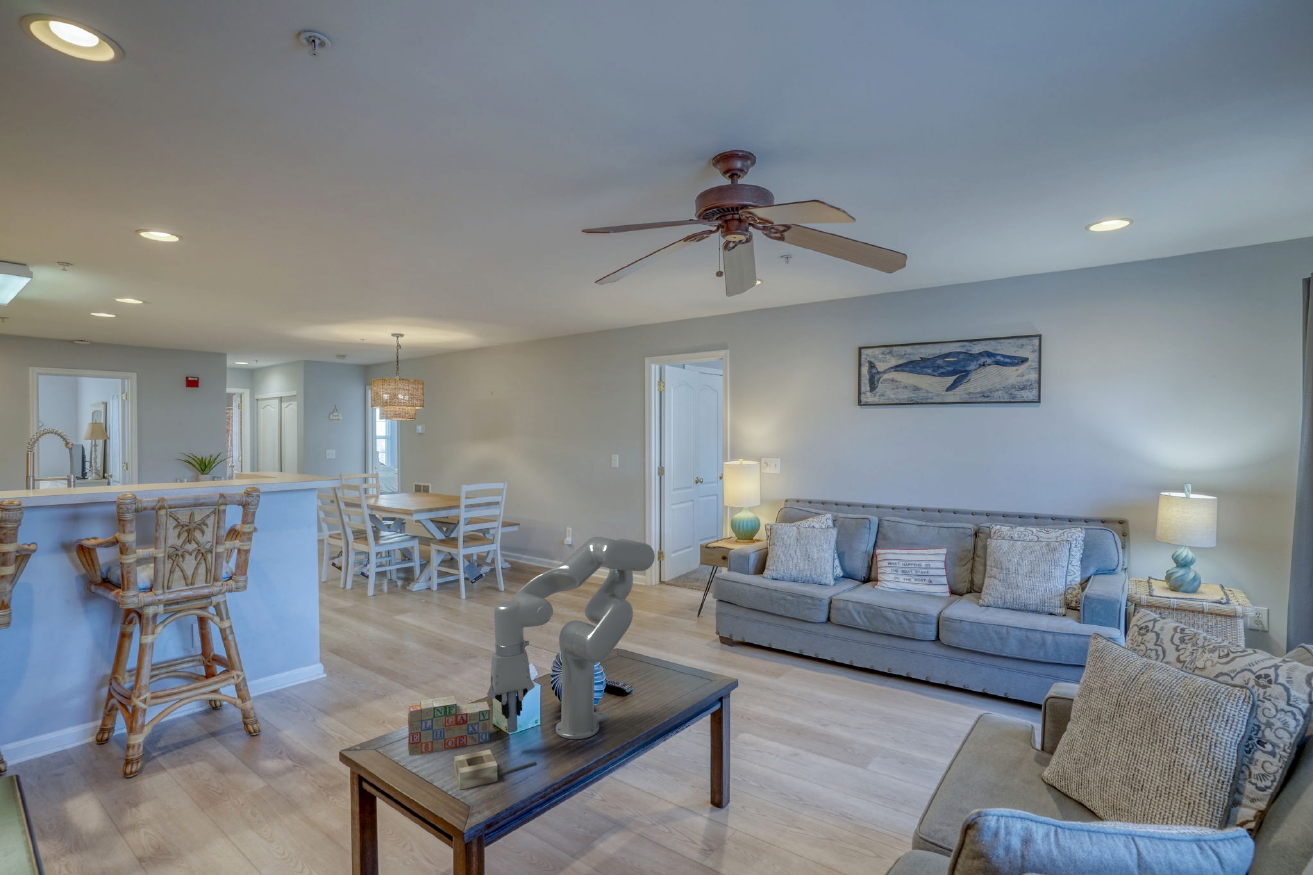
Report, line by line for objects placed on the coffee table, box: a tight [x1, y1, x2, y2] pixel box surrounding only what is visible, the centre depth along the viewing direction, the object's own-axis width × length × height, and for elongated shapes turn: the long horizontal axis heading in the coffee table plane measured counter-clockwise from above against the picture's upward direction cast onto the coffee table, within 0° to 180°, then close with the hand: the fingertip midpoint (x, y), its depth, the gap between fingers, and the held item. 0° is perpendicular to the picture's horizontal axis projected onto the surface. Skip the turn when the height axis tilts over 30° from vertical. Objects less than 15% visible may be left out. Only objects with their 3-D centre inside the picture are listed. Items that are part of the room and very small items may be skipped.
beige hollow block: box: [453, 749, 498, 791], centre depth 160 cm, size 9×9×4 cm
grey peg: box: [506, 691, 518, 734], centre depth 172 cm, size 3×3×12 cm
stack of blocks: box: [407, 695, 491, 756], centre depth 177 cm, size 21×6×12 cm, turn 113°
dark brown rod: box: [498, 760, 537, 777], centre depth 164 cm, size 10×1×1 cm, turn 127°
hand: (512, 714), depth 172 cm, fingers closed on grey peg, 2 cm apart
